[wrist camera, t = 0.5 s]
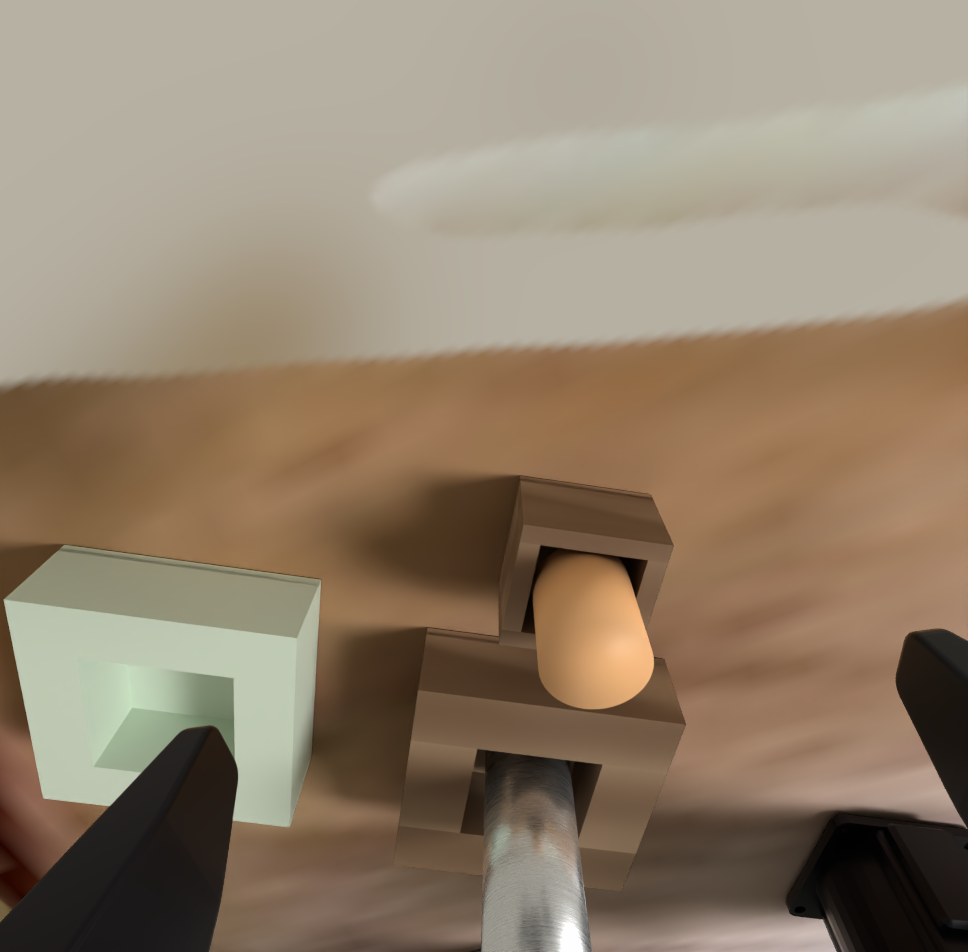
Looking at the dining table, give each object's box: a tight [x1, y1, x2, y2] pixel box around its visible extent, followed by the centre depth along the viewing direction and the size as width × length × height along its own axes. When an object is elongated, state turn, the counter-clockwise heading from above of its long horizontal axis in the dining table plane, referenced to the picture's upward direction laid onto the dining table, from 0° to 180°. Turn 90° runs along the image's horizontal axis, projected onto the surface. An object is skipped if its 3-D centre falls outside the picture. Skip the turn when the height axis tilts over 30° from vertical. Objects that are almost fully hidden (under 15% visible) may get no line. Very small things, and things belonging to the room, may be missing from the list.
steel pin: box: [481, 750, 592, 952], centre depth 22 cm, size 3×3×9 cm
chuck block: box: [393, 628, 686, 892], centre depth 25 cm, size 9×9×3 cm
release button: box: [532, 548, 654, 709], centre depth 19 cm, size 3×3×4 cm
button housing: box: [499, 476, 674, 650], centre depth 22 cm, size 4×4×3 cm
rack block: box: [4, 545, 321, 827], centre depth 24 cm, size 9×9×3 cm
